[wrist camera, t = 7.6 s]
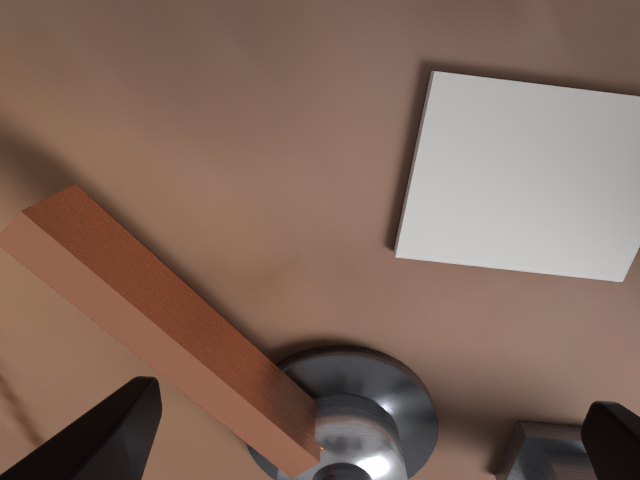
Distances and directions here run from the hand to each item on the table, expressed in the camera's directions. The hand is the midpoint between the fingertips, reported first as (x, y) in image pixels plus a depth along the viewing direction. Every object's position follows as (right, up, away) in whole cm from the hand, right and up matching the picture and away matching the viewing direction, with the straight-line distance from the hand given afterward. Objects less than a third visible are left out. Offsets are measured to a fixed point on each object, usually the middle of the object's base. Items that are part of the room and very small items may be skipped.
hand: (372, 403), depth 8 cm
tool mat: (+8, +6, +8) cm, 12 cm away
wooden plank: (-5, -2, +10) cm, 11 cm away
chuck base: (0, -6, +14) cm, 15 cm away
